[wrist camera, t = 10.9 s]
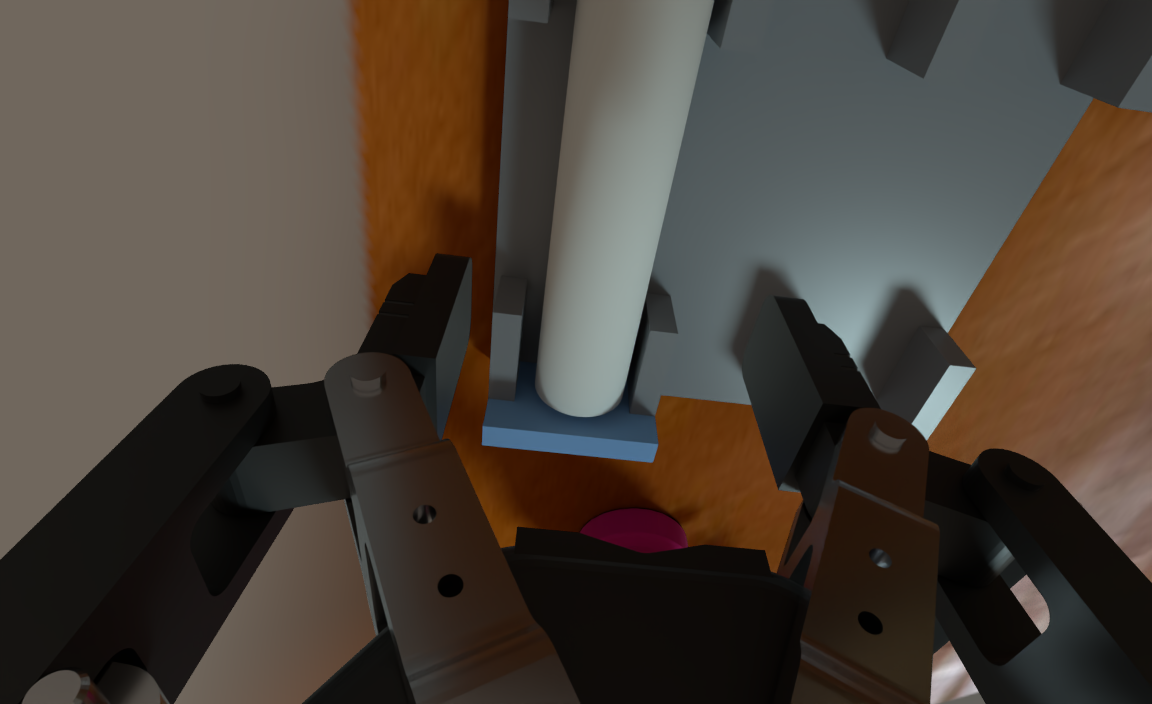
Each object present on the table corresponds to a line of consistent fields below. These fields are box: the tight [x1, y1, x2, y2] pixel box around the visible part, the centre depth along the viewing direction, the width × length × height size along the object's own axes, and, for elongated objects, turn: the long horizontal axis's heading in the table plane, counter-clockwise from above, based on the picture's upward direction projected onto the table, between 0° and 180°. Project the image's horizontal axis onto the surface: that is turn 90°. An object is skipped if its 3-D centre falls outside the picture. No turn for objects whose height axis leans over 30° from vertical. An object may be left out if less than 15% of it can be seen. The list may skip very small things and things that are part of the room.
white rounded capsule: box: [535, 0, 714, 417], centre depth 19 cm, size 16×4×4 cm, turn 173°
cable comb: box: [482, 0, 1152, 462], centre depth 19 cm, size 19×18×5 cm
